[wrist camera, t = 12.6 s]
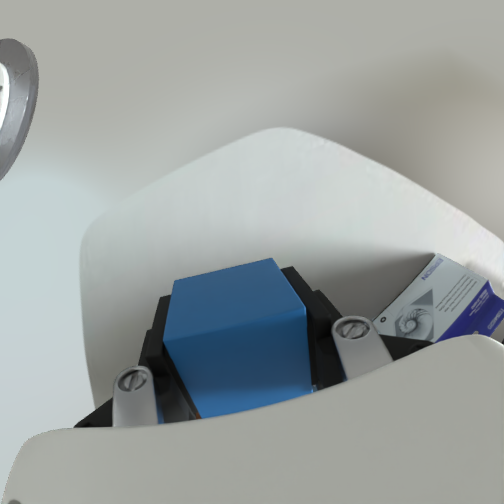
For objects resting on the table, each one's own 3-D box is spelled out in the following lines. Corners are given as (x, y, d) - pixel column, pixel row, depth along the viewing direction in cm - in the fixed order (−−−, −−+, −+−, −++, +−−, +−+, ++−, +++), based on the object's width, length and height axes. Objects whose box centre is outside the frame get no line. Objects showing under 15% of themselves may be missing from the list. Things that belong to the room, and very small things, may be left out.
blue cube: (200, 356, 12) (204, 423, 8) (173, 279, 11) (161, 340, 7) (285, 336, 12) (313, 397, 9) (272, 256, 11) (306, 306, 7)
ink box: (436, 249, 26) (512, 290, 15) (442, 263, 27) (513, 304, 16) (367, 322, 28) (428, 391, 17) (376, 333, 28) (433, 399, 17)
